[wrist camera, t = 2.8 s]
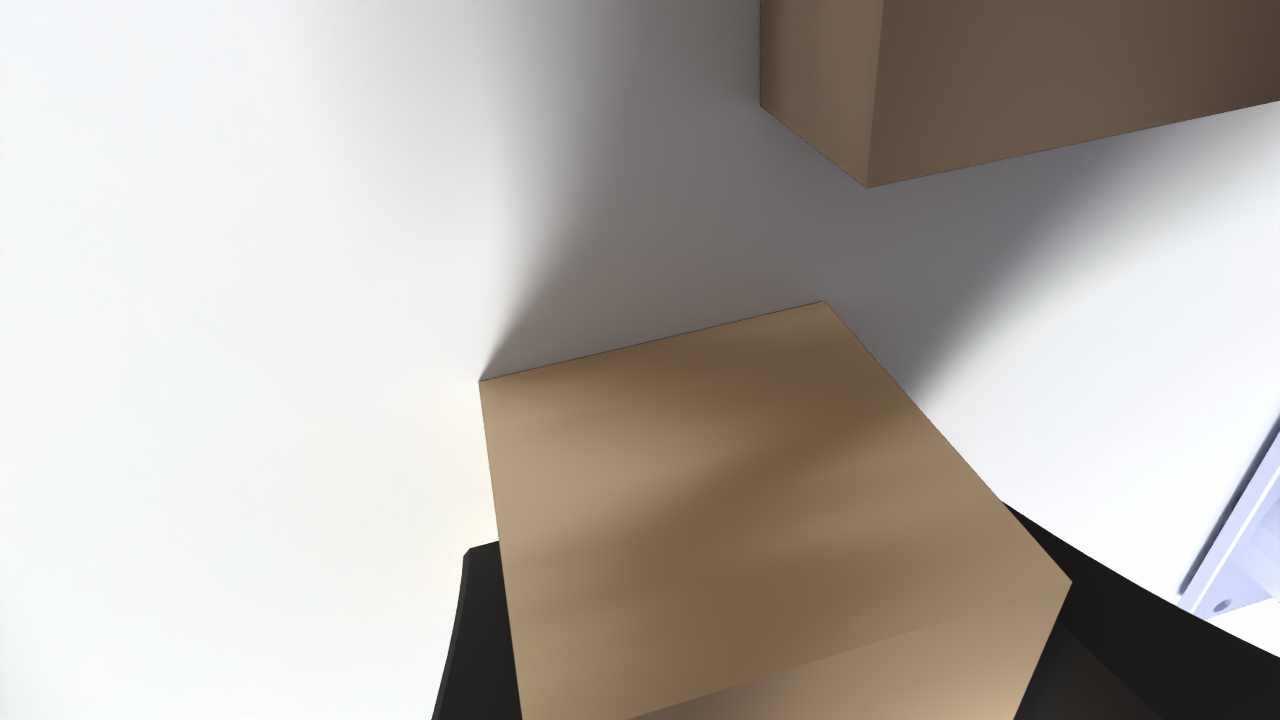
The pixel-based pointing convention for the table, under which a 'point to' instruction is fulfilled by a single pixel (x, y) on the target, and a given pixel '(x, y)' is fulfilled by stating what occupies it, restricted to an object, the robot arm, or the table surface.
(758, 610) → the oak cube
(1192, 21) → the walnut base
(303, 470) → the table surface
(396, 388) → the table surface
